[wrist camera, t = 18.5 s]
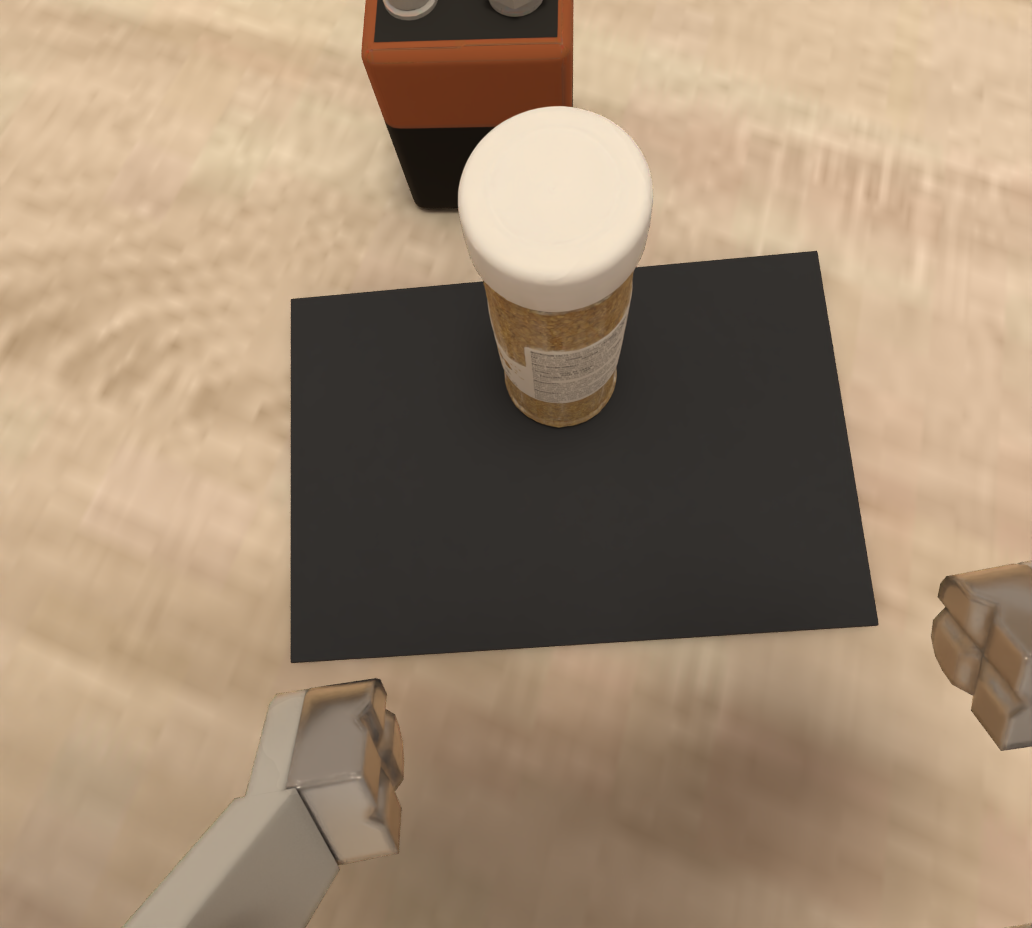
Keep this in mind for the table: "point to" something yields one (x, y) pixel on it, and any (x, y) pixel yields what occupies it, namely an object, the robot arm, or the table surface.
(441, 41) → the battery
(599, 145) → the sprinkles bottle
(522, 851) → the table surface
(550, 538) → the desk pad
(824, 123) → the table surface
